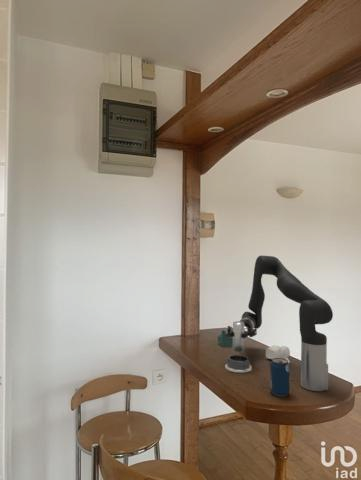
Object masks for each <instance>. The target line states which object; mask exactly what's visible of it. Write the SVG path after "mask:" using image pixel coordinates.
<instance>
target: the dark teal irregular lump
mask: <svg viewBox="0 0 361 480" xmlns="http://www.w3.org/2000/svg"><path fill="white" fill-rule="evenodd" d="M230 327H231V328H233V326H230ZM226 332H227V330H225V329H222V330H221V333H219V335H218V336H217V342H218V345H219V346H221V347H224V348H233V336H232V337H230V336H229V335H228V334H227V333H226Z"/></svg>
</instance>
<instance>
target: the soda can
mask: <svg viewBox="0 0 361 480" xmlns="http://www.w3.org/2000/svg"><path fill="white" fill-rule="evenodd" d="M290 368H291V367H290V363H288V360H286V359H282V358H273V359H271V362H270V365H269V390H270V392H271V394H273V395H274V396H276V397H286V396H288V394H289V393H290V383H291V382H290V380H291V379H290V374H291V373H290V372H291V370H290Z"/></svg>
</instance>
